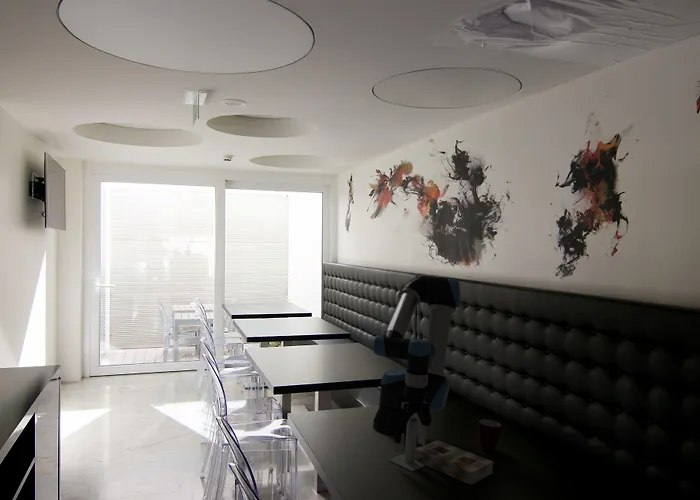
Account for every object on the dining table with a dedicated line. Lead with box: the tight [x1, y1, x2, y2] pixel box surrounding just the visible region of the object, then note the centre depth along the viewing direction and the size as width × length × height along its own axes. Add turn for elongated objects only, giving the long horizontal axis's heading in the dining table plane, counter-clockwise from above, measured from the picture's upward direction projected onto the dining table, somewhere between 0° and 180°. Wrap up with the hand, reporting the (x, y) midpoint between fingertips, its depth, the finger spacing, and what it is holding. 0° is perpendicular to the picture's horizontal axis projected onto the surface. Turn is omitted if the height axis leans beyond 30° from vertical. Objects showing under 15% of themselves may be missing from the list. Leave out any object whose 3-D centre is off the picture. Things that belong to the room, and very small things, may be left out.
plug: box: [403, 416, 419, 464], centre depth 170 cm, size 4×4×15 cm
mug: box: [477, 418, 502, 453], centre depth 187 cm, size 10×8×10 cm
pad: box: [387, 453, 427, 473], centre depth 170 cm, size 10×10×1 cm
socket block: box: [415, 439, 494, 486], centre depth 170 cm, size 22×14×4 cm, turn 47°
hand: (410, 448), depth 170 cm, fingers open, 12 cm apart
